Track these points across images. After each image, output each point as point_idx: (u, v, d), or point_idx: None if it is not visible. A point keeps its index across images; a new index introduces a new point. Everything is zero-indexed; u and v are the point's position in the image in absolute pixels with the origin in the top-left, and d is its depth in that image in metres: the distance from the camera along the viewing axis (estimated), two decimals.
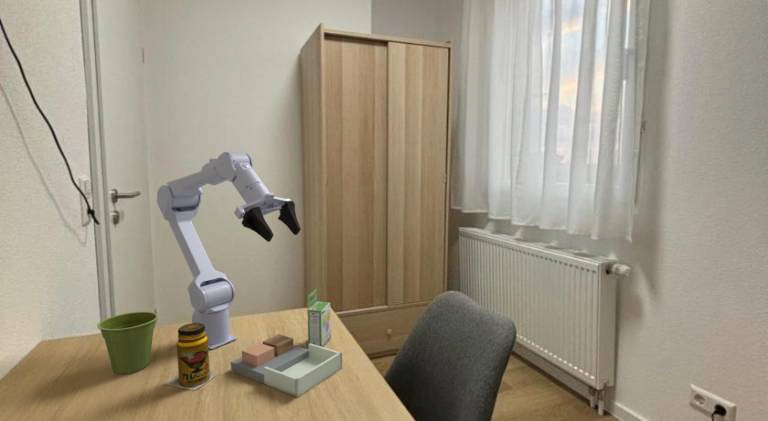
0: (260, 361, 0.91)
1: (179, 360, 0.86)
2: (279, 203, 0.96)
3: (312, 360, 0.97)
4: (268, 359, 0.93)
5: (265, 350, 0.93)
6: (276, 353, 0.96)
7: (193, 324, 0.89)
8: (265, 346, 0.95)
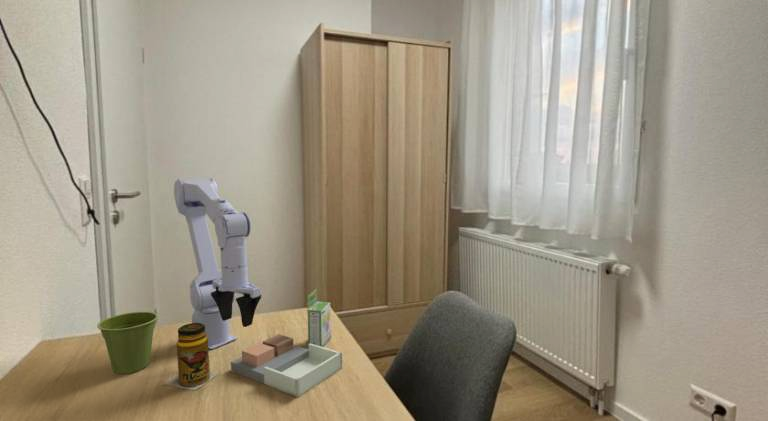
0: (260, 361, 0.91)
1: (179, 360, 0.86)
2: None
3: (312, 360, 0.97)
4: (268, 359, 0.93)
5: (265, 350, 0.93)
6: (276, 353, 0.96)
7: (193, 324, 0.89)
8: (265, 346, 0.95)
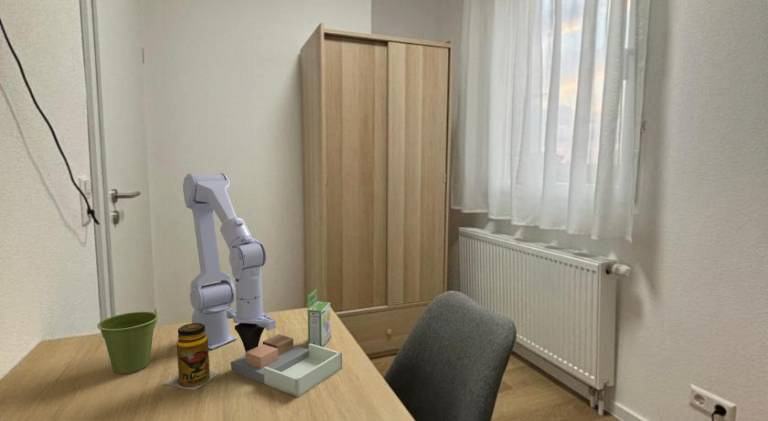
0: (264, 363, 0.90)
1: (179, 360, 0.86)
2: None
3: (312, 360, 0.97)
4: (272, 360, 0.92)
5: (269, 351, 0.92)
6: None
7: (193, 324, 0.89)
8: (269, 347, 0.94)
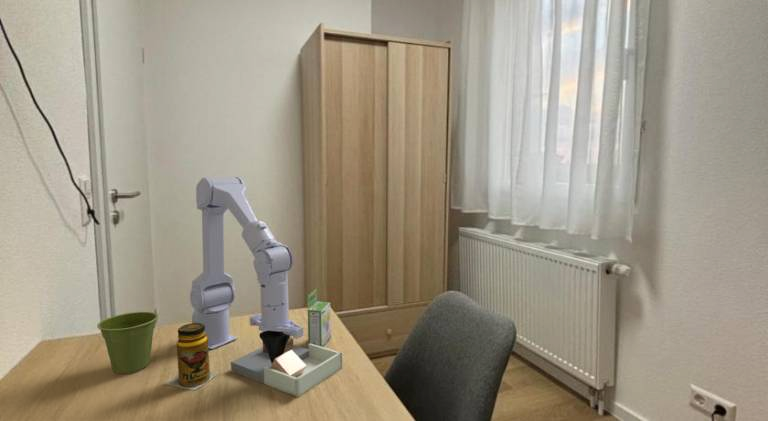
0: None
1: (179, 360, 0.86)
2: None
3: (312, 360, 0.97)
4: (297, 375, 0.89)
5: (298, 367, 0.88)
6: None
7: (193, 324, 0.89)
8: (298, 359, 0.90)
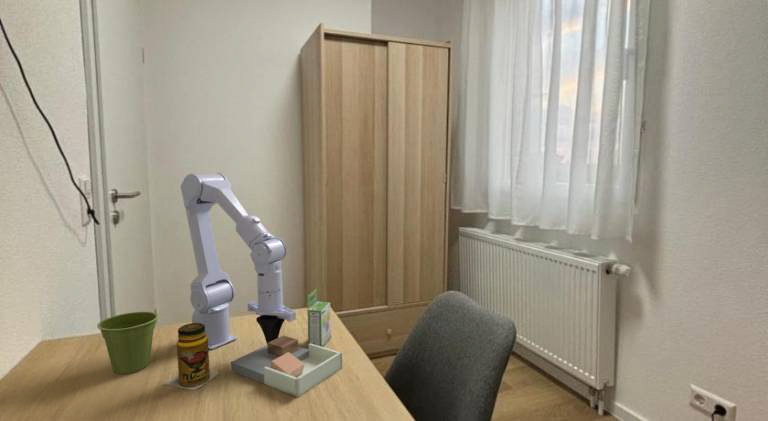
0: None
1: (179, 360, 0.86)
2: None
3: (312, 360, 0.97)
4: (296, 375, 0.89)
5: (296, 366, 0.88)
6: (281, 354, 0.95)
7: (193, 324, 0.89)
8: (295, 359, 0.90)
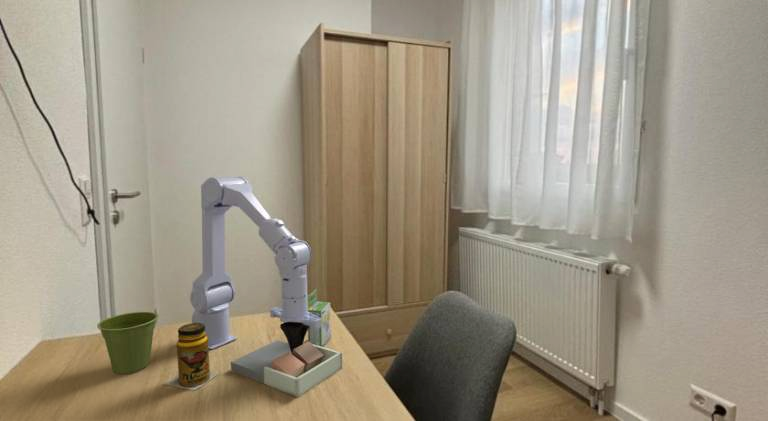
0: None
1: (179, 360, 0.86)
2: None
3: None
4: (296, 375, 0.89)
5: (296, 366, 0.88)
6: (304, 368, 0.91)
7: (193, 324, 0.89)
8: (295, 359, 0.90)
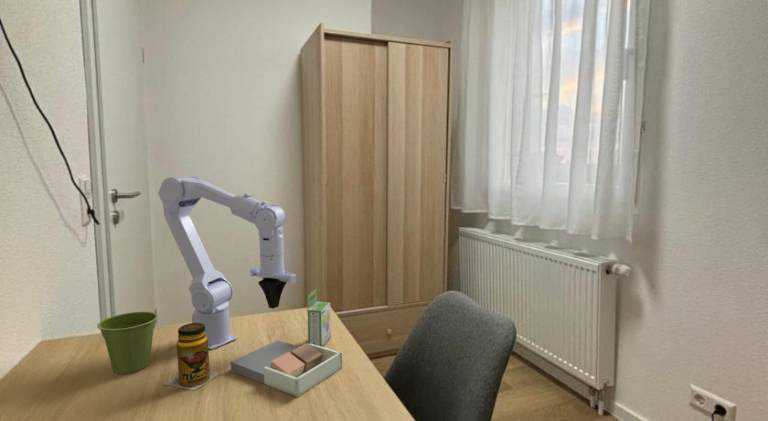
0: None
1: (179, 360, 0.86)
2: None
3: None
4: (296, 375, 0.89)
5: (296, 366, 0.88)
6: (304, 368, 0.91)
7: (193, 324, 0.89)
8: (295, 359, 0.90)
